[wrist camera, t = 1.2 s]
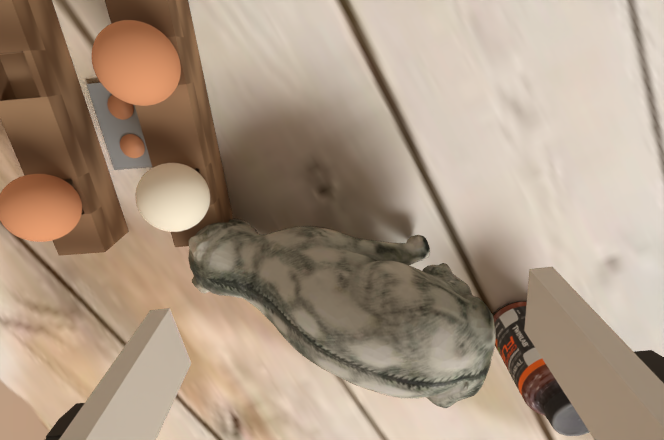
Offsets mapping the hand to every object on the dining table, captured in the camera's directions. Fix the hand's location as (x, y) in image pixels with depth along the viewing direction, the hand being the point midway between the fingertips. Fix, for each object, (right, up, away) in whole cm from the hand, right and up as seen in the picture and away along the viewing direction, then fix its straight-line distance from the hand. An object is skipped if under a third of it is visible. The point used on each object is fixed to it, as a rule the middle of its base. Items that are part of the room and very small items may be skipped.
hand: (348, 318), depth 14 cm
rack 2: (-12, +12, +17) cm, 24 cm away
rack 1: (-22, +11, +18) cm, 31 cm away
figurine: (0, +1, +22) cm, 22 cm away
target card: (-17, +11, +18) cm, 27 cm away
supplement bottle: (+18, -7, +26) cm, 32 cm away
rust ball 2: (-13, +14, +10) cm, 21 cm away
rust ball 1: (-22, +5, +14) cm, 27 cm away
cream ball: (-12, +5, +14) cm, 19 cm away
